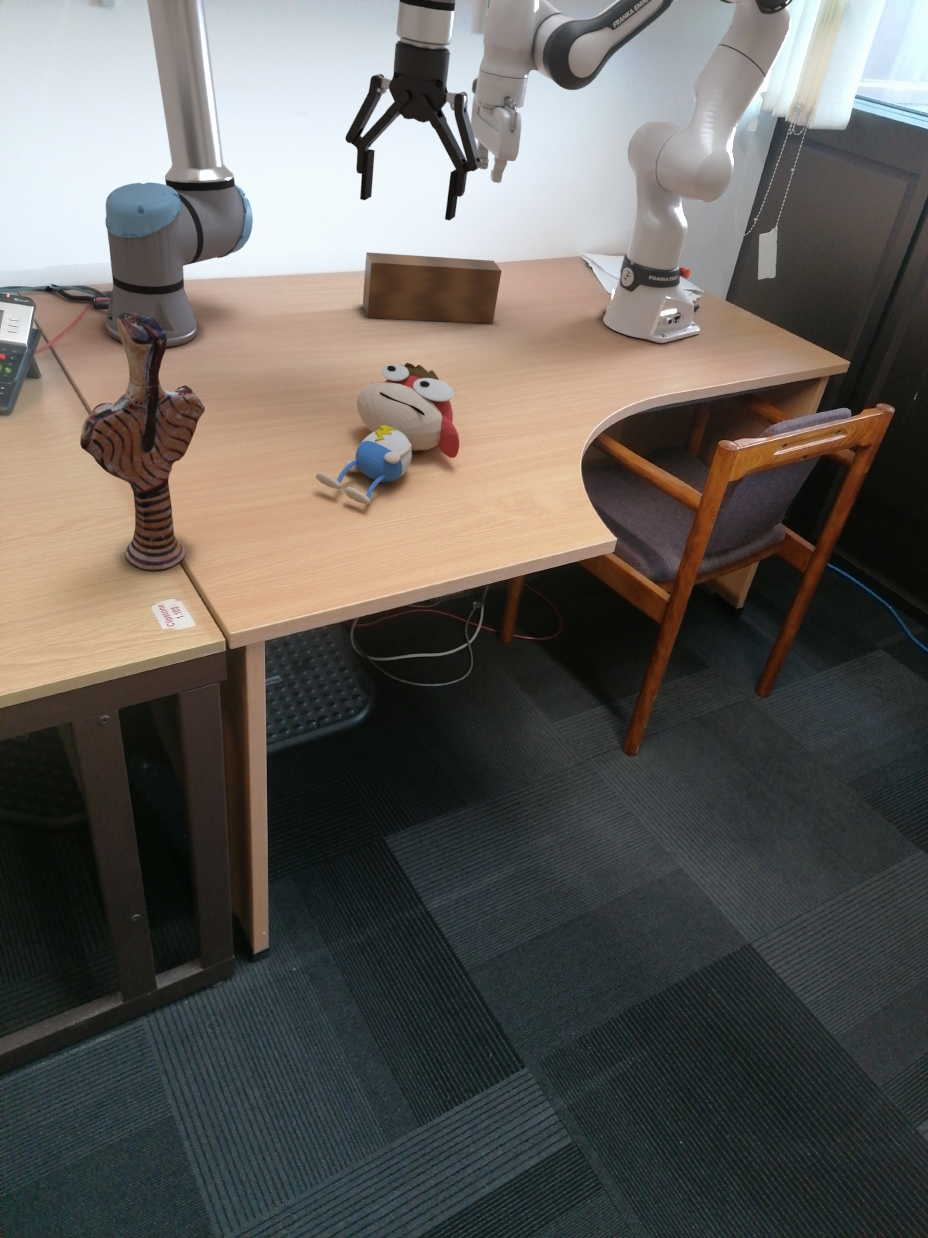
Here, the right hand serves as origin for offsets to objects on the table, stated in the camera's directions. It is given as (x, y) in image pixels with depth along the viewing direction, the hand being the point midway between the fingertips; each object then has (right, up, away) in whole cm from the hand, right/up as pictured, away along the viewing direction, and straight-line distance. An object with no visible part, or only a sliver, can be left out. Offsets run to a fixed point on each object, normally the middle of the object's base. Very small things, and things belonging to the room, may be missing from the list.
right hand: (488, 174), depth 169 cm
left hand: (-13, -22, -34) cm, 43 cm away
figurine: (-42, -77, -60) cm, 106 cm away
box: (-12, -22, +15) cm, 29 cm away
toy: (-16, -60, -34) cm, 71 cm away
